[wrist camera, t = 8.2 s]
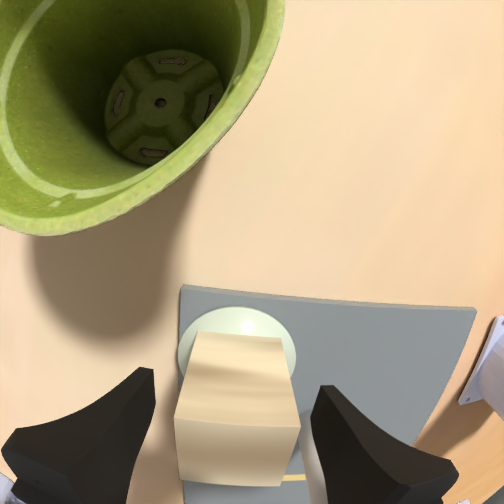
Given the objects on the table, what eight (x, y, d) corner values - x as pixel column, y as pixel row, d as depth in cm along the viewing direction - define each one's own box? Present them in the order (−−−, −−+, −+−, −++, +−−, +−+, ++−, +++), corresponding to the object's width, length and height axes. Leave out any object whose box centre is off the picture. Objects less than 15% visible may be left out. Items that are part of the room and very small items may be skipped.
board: (472, 307, 15) (547, 360, 8) (359, 507, 21) (375, 558, 13) (183, 284, 14) (132, 378, 7) (186, 510, 20) (179, 569, 12)
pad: (305, 311, 14) (306, 315, 14) (283, 403, 15) (284, 407, 15) (180, 298, 14) (178, 301, 13) (179, 393, 15) (177, 397, 15)
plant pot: (68, 195, 13) (-63, 220, 5) (99, 31, 11) (13, -45, 2) (246, 213, 14) (249, 266, 5) (272, 30, 11) (299, -94, 3)
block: (269, 398, 15) (279, 486, 9) (196, 392, 15) (179, 479, 9) (281, 338, 14) (301, 427, 8) (197, 330, 14) (173, 417, 8)
